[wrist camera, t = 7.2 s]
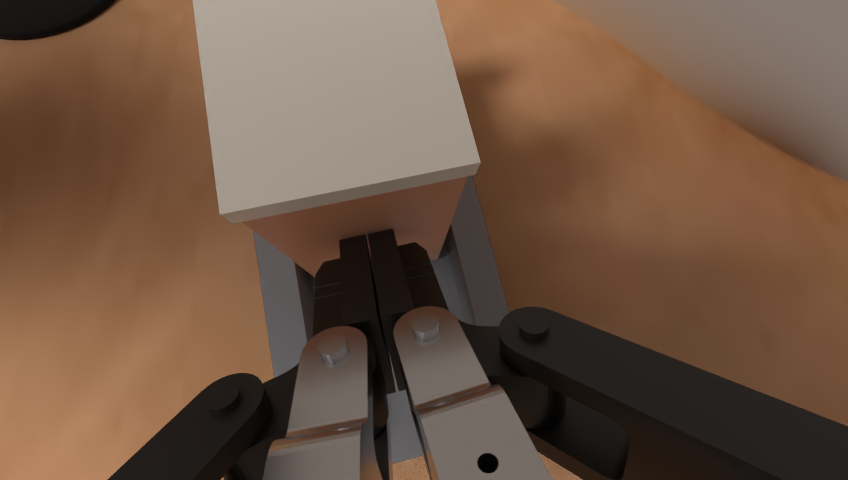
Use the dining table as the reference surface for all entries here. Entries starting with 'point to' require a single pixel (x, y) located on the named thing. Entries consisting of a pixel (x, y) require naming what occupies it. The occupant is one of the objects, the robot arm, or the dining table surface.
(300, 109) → the block
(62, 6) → the wine glass
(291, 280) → the key track
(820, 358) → the dining table surface
